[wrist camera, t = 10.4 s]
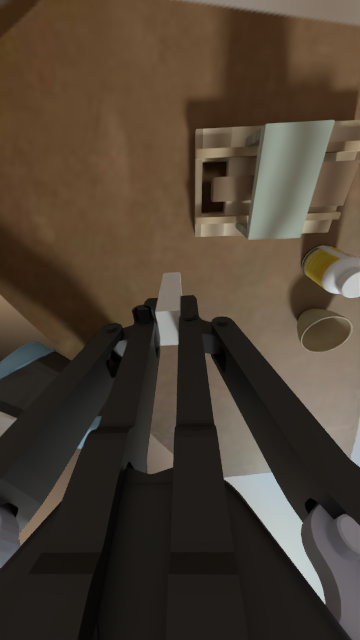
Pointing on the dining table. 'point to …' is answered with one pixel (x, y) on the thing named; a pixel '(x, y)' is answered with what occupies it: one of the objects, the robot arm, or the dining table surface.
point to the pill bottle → (333, 270)
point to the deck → (249, 170)
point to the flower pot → (322, 330)
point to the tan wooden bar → (326, 192)
